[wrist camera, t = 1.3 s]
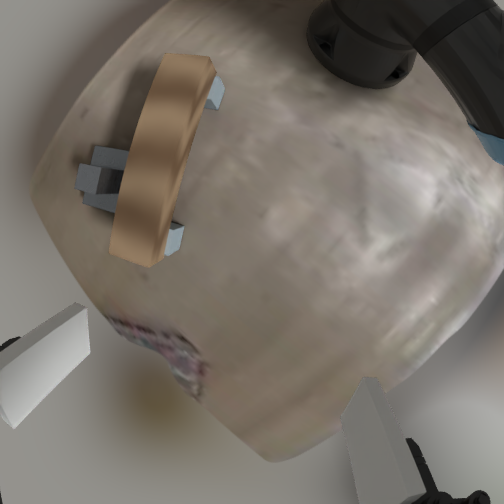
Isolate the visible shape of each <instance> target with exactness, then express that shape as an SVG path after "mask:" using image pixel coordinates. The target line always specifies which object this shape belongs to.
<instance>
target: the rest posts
mask: <svg viewBox="0 0 504 504" xmlns="http://www.w3.org/2000/svg"><path fill="white" fill-rule="evenodd" d="M224 91H225V88H224V86H223V83H222V81H221V79H220V77H218V76H215V78H214V81H213V84H212V86H211V89H210V92H209V94H208V97H207V100H206V103H205V106H204V108H209V109H215V110H218V108H219V106H220V103H221V100H222V97H223V94H224ZM183 231H184V226H182V225H179V224H175V223H172V222H171V225H170V229H169V234H168V238H167V243H166V248H165V252H164V255H167V256H169V255H170V254H172V253H174V252H175V251H177V250H179V248H180V243H181V239H182V235H183Z"/></svg>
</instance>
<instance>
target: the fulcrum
mask: <svg viewBox="0 0 504 504" xmlns="http://www.w3.org/2000/svg"><path fill="white" fill-rule="evenodd" d="M128 154H129V151H125V150H120V149H114V148H108V147H101V146H95V148H94V152H93V156H92V160H91V164H82V163H80V164H79V169H78V173H77V178H76V183H75V188H74V189H77V190H81V191H85V192H84V198H83V204H86V205H89V206H93V207H96V208H99V209H103V210H106V211H109V212H113V213H115V211H116V205H117V200H118V196H119V191H120V187H121V182H122V178H123V174H124V170H125V166H126V162H127V158H128Z"/></svg>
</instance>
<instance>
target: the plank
mask: <svg viewBox="0 0 504 504" xmlns="http://www.w3.org/2000/svg"><path fill="white" fill-rule="evenodd" d="M216 73H217V72H216V70H215V68H214V66H213V63H212V61H211V59H210V57H208V56H198V55H187V54H171V53H165V55H164V57H163V59H162V61H161V63H160V66H159V68H158V70H157V73H156V75H155V78H154V80H153V83H152V85H151V88H150V90H149V93H148V96H147V98H146V101H145V104H144V107H143V109H142V112H141V115H140V118H139V121H138V124H137V127H136V131H135V134H134V137H133V140H132V144H131V147H130V151H129V154H128V158H127V162H126V166H125V170H124V174H123V178H122V182H121V187H120V191H119V196H118V200H117V205H116V211H115V216H114V222H113V227H112V234H111V240H110V247H109V254H112V255H114V256H117V257H120V258H123V259H125V260H128V261H131V262H134V263H136V264H139V265H142V266H145V267H148V268H149V267H151V266H152V265H154V264H156V263H157V262H159V261H160V260H162V259H163V257H164V252H165V248H166V243H167V238H168V234H169V229H170V225H171V220H172V216H173V212H174V208H175V204H176V200H177V196H178V192H179V188H180V184H181V180H182V177H183V173H184V170H185V166H186V163H187V159H188V156H189V152H190V149H191V146H192V142H193V139H194V136H195V133H196V130H197V127H198V123H199V120H200V117H201V114H202V112H203V109H204V106H205V103H206V100H207V97H208V94H209V92H210V89H211V86H212V84H213V81H214V78H215V76H216Z"/></svg>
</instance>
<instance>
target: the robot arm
mask: <svg viewBox="0 0 504 504" xmlns="http://www.w3.org/2000/svg"><path fill="white" fill-rule="evenodd" d="M307 40H308V43H309V46H310V48H311V50H312V52H313V54H314V55H315V56H316V58H317V59H318V60H319V61H320V62H321V64H322V65H324V66H325V67H326V68H327V69H328V70H329V71H331V72H332V73H333V74H335V75H336V76H338V77H340V78H341V79H343V80H345V81H347V82H350V83H352V84H355V85H358V86H361V87H366V88H372V89H382V88H388V87H391V86H394V85H396V84H398V83H399V82H400V81H401V80H403V79H404V78H405V77H406V76H407V75H408V74H409V73H410V71H411V70H412V68H413V65H414V61H415V58H416V55H417V52H418V53H419V54H420V55H421V56H422V58H423V59H424V60H425V61H426V63H427V64H428V65H429V66H430V67H431V69H432V70H433V71H434V72H435V74H436V75H437V76H438V77H439V79H440V80H441V81H442V83H443V84H444V85H445V87H446V88H447V89H448V91H449V92H450V94H451V95H452V97H453V98H454V99H455V101H456V103H457V104H458V106H459V107H460V109H461V110H462V112H463V114H464V115H465V117H466V119H467V122H468V125H469V126H470V128H471V129H472V130H473V131H474V132H475V133H476V135H477V136H478V138H479V140H480V141H481V143H482V145H483V147H484V149H485V150H486V152H487V153H488V155H489V156H490V157H491V158H492V159H493V160H494V161H496V162H497V163H499V164H502V165H503V166H504V11H503V10H501V9H500V7H499V6H498V5H497V4H496V3H495V2H494V1H493V0H325V1H323V2H322V3H321V4H320V5H319V6H318V7H317V8H316V9H315V10H314V12H313V13H312V15H311V17H310V19H309V23H308V28H307ZM89 354H90V344H89V333H88V318H87V307H85V306H83V305H80V304H78V303H76V302H75V303H74V304H72V305H70V306H69V307H67V308H66V309H64V310H63V311H61V312H59V313H58V314H56V315H55V316H53V317H52V318H50V319H49V320H47V321H45V322H44V323H42V324H41V325H40V326H38V327H36V328H35V329H33V330H32V331H30V332H29V333H27V334H26V335H24V336H23V337H16V338H12V339H9V340H8V341H6V342H5V343H3V344H2V346H0V415H1V417H2V419H3V420H4V421H5V422H6V423H8V424H9V425H10V426H11V427H12V428H13V429H15V428H16V427H17V426H18V425H19V423H21V421H22V420H23V419H24V418H25V417H26V416H27V415H28V414H29V413H30V412H31V411H32V410H33V409H34V408H35V407H36V406H37V405H38V404H39V403H40V402H41V401H42V400H43V399H44V398H45V397H46V396H47V395H48V394H49V393H50V392H51V390H53V389H54V388H55V387H56V386H57V385H58V384H59V383H60V381H62V380H63V379H64V378H65V377H66V376H67V375H68V374H69V373H70V372H71V371H72V370H73V369H74V368H75V367H76V366H77V365H78V364H79V363H80V362H81V361H82V360H83V359H84V358H86V357H87V356H88V355H89ZM340 419H341V423H342V427H343V431H344V435H345V439H346V444H347V448H348V452H349V457H350V461H351V466H352V471H353V475H354V481H355V485H356V491H357V496H358V501H359V504H490V498H489V496H488V494H487V493H486V492H484V491H481V490H478V491H475V492H473V493H472V494H471V495H470V496H468V497H467V498H458V499H453V498H452V497H451V495H449V494H448V493H446V492H439V491H438V489H437V487H436V485H435V482H434V480H433V478H432V475H431V473H430V471H429V468H428V466H427V464H426V461H425V459H424V457H422V456H423V455H422V452H421V450H420V448H419V446H418V445H417V444H416V443H415V442H414V441H413V440H412V438H407V439H405V437H404V435H403V433H402V430H401V428H400V426H399V424H398V421H397V419H396V417H395V415H394V413H393V410H392V408H391V406H390V404H389V402H388V400H387V398H386V396H385V393H384V391H383V389H382V387H381V385H380V383H379V381H378V379H377V378H371V377H363V378H362V380H361V382H360V384H359V385H358V387H357V389H356V391H355V393H354V394H353V396H352V398H351V400H350V401H349V403H348V405H347V407H346V408H345V410H344V412H343V413H342V415H341V416H340ZM0 504H2V498H1V493H0Z"/></svg>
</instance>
